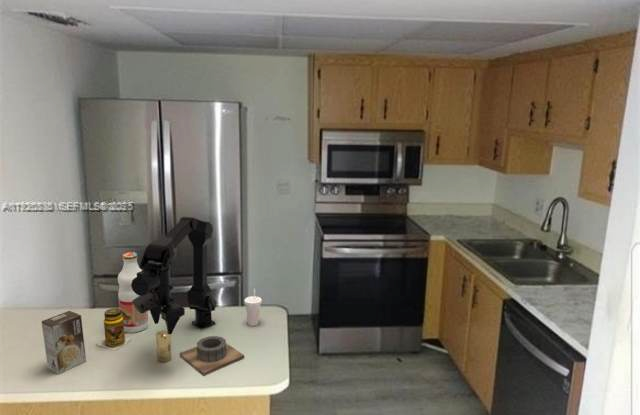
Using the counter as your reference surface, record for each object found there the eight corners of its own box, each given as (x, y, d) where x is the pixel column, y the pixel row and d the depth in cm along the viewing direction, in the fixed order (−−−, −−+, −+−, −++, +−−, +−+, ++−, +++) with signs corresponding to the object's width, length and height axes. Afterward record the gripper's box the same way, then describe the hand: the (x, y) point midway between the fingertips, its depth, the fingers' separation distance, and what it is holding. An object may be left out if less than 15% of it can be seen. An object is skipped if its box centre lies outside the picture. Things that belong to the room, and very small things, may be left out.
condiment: (116, 350, 158) (113, 317, 156) (95, 345, 161) (92, 313, 158) (131, 339, 165) (128, 308, 162) (111, 335, 168) (108, 304, 165)
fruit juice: (148, 331, 171) (144, 257, 165) (120, 335, 168) (114, 259, 161) (148, 319, 180) (143, 249, 173) (121, 323, 177) (115, 251, 170)
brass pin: (154, 358, 154) (153, 333, 152) (167, 354, 157) (166, 329, 155) (161, 364, 151) (159, 338, 149) (174, 359, 154) (172, 334, 152)
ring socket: (179, 355, 156) (178, 342, 155) (219, 340, 166) (218, 327, 165) (203, 375, 145) (203, 361, 144) (244, 358, 156) (244, 344, 154)
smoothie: (258, 328, 175) (258, 293, 172) (242, 326, 177) (241, 291, 173) (264, 320, 182) (264, 286, 178) (248, 318, 183) (247, 284, 179)
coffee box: (75, 355, 155) (70, 309, 151) (86, 361, 151) (82, 314, 148) (46, 368, 147) (40, 320, 143) (58, 375, 144) (52, 326, 140)
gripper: (122, 280, 149) (125, 326, 152) (149, 299, 136) (152, 349, 139) (156, 272, 156) (158, 315, 160) (184, 289, 143) (186, 336, 147)
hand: (163, 328), depth 151 cm, fingers open, 9 cm apart
